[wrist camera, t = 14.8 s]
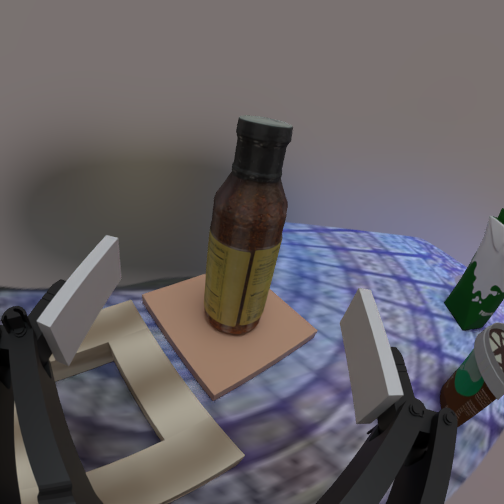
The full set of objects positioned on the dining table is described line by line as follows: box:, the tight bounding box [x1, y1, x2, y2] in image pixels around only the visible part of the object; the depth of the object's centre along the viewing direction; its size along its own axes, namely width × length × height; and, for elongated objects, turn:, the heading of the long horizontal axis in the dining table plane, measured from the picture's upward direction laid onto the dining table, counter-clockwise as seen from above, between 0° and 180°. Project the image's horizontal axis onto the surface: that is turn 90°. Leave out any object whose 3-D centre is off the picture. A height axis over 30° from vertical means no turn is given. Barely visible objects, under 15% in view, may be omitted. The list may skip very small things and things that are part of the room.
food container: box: [440, 323, 504, 427], centre depth 22 cm, size 12×6×10 cm, turn 123°
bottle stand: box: [14, 300, 245, 504], centre depth 16 cm, size 18×18×3 cm
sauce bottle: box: [204, 116, 293, 334], centre depth 24 cm, size 7×6×20 cm
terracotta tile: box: [142, 274, 317, 401], centre depth 30 cm, size 14×14×1 cm
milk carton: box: [444, 208, 504, 330], centre depth 34 cm, size 9×9×20 cm
